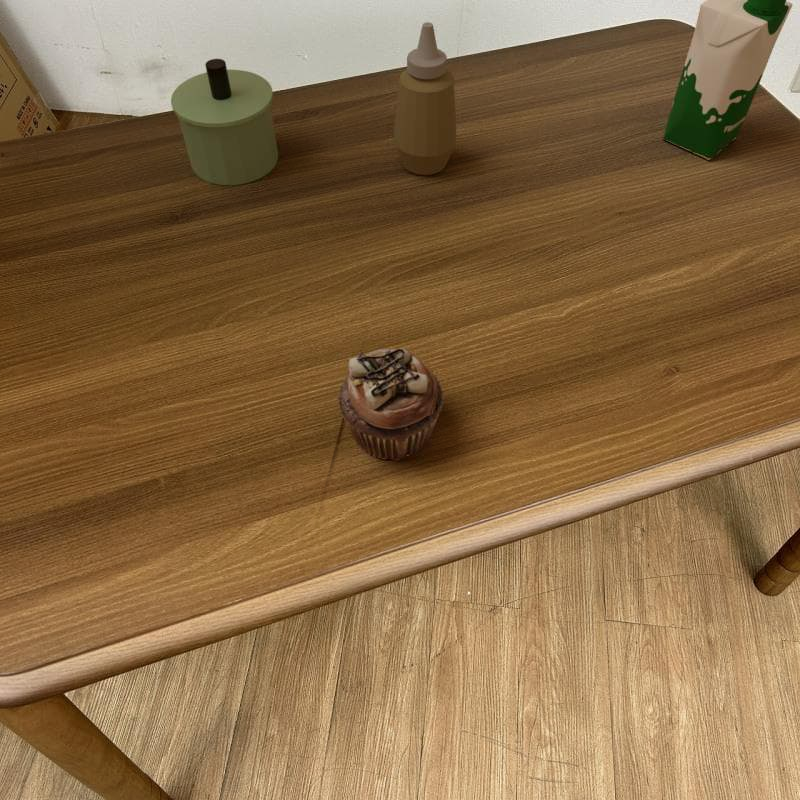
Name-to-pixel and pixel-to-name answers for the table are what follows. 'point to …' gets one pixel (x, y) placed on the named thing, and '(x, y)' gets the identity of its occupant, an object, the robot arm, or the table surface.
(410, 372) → the cupcake
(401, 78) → the squeeze bottle
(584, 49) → the table surface
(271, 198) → the table surface
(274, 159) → the tin
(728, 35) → the milk carton
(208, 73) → the lid
